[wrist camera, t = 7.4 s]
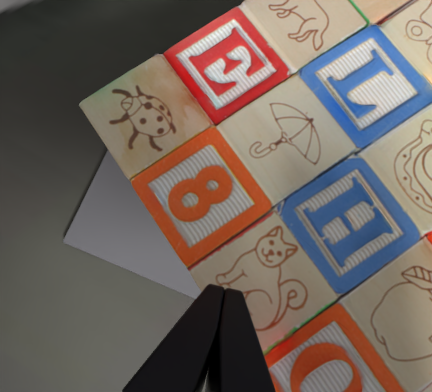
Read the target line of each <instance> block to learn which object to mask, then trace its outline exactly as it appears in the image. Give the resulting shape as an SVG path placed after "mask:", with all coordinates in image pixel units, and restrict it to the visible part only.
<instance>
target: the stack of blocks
mask: <svg viewBox="0 0 432 392" xmlns="http://www.w3.org/2000/svg"><path fill="white" fill-rule="evenodd" d="M79 106H80V107H81V109H82V110H83V112H84V113H85V115H86V116H87V118H88V119H89V121H90V123H91V124H92V126H93V127H94V129H95V130H96V132H97V133H98V135H99V136H100V138H101V139H102V141H103V142H104V144H105V145H106V147H107V148H108V150H109V152H110V153H111V155H112V156H113V158H114V159H115V161H116V162H117V164H118V165H119V167H120V168H121V170H122V172H123V173H124V175H125V176H126V177H127V178H128V180H129V181H130V182H131V184H132V186H133V188H134V190H135V191H136V193H137V195H138V196H139V198H140V199H141V201H142V202H143V204H144V205H145V207H146V208H147V210H148V211H149V213H150V214H151V216H152V217H153V219H154V220H155V222H156V223H157V225H158V227H159V228H160V230H161V231H162V233H163V234H164V236H165V237H166V239H167V240H168V242H169V243H170V245H171V246H172V248H173V249H174V251H175V252H176V254H177V255H178V257H179V258H180V260H181V261H182V262H183V264H184V265H185V266H186V268H187V269H188V271H189V272H190V274H191V276H192V278H193V279H194V281H195V282H196V284H197V286H198V287H199V289H200V290H201V292H202V291H203V290H204V288H205V287H206V286H207V285H208V284H214V285H219V286H223V287H224V289H226V288H232V289H236V290H240V291H242V292H243V294H244V297H245V300H246V303H247V306H248V309H249V312H250V315H251V318H252V321H253V324H254V327H255V330H256V333H257V336H258V339H259V342H260V345H261V348H262V351H263V354H264V357H265V360H266V363H267V366H268V369H269V372H270V375H271V378H272V381H273V384H274V387H275V390H276V392H432V0H244V1H243V2H242V4H241V5H240V6H236V7H234V8H233V9H231V10H229V11H228V12H226V13H225V14H223V15H221V16H220V17H218V18H216V19H215V20H213V21H211V22H210V23H208V24H207V25H205V26H204V27H202V28H200V29H199V30H197V31H196V32H194V33H192V34H191V35H189V36H188V37H186V38H185V39H183V40H181V41H180V42H178V43H177V44H175V45H174V46H172V47H171V48H169V49H168V50H167V51H165V52H164V54H157V55H155V56H154V57H152V58H150V59H148V60H147V61H145V62H143V63H142V64H140V65H139V66H137V67H135V68H134V69H132V70H130V71H128V72H127V73H125V74H124V75H122V76H121V77H119V78H117V79H116V80H114V81H112V82H111V83H109V84H108V85H106V86H105V87H103V88H101V89H100V90H98V91H97V92H95V93H94V94H92V95H90V96H89V97H87V98H86V99H84V100H83V101H81V103H80V104H79Z"/></svg>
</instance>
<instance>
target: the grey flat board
mask: <svg viewBox="0 0 432 392" xmlns="http://www.w3.org/2000/svg"><path fill="white" fill-rule="evenodd" d="M155 55H157V53H155ZM155 55H154V56H155ZM63 242H64V243H66V244H68V245H71V246H73V247H75V248H78V249H80V250H82V251H85V252H87V253H89V254H92V255H94V256H96V257H99V258H101V259H103V260H106V261H108V262H110V263H113V264H115V265H117V266H120V267H122V268H124V269H127V270H129V271H131V272H134V273H136V274H138V275H141V276H143V277H145V278H148V279H150V280H152V281H155V282H157V283H159V284H162V285H164V286H166V287H169V288H171V289H173V290H176V291H178V292H180V293H183V294H185V295H187V296H190V297H192V298H194V299H196V298H197V297H198V296H199V295H200V293H201V290H200V289H199V287H198V286H197V284H196V282H195V281H194V279H193V278H192V276H191V274H190V272H189V271H188V269H187V268H186V266H185V265H184V264H183V262H182V261H181V260H180V258H179V257H178V255H177V254H176V252H175V251H174V249H173V248H172V246H171V245H170V243H169V242H168V240H167V239H166V237H165V236H164V234H163V233H162V231H161V230H160V228H159V227H158V225H157V223H156V222H155V220H154V219H153V217H152V216H151V214H150V213H149V211H148V210H147V208H146V207H145V205H144V204H143V202H142V201H141V199H140V198H139V196H138V195H137V193H136V191H135V190H134V188H133V186H132V184H131V182H130V181H129V180H128V178H127V177H126V176H125V175H124V173H123V172H122V170H121V168H120V167H119V165H118V164H117V162H116V161H115V159H114V158H113V156H112V155H111V153H110V152H109V150H107V152H106V155H105V157H104V159H103V161H102V163H101V165H100V167H99V169H98V171H97V173H96V175H95V177H94V179H93V181H92V183H91V185H90V187H89V189H88V191H87V193H86V195H85V197H84V199H83V201H82V203H81V206H80V208H79V210H78V212H77V214H76V216H75V218H74V220H73V222H72V224H71V226H70V228H69V230H68V232H67V234H66V236H65V238H64V240H63Z"/></svg>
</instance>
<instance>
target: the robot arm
mask: <svg viewBox="0 0 432 392" xmlns="http://www.w3.org/2000/svg"><path fill="white" fill-rule="evenodd" d="M207 371H208V373H207ZM206 375H207V380H206V389H205V392H276V390H275V387H274V384H273V381H272V378H271V375H270V372H269V369H268V366H267V363H266V360H265V357H264V354H263V351H262V348H261V345H260V342H259V339H258V336H257V333H256V330H255V327H254V324H253V321H252V318H251V315H250V312H249V309H248V306H247V303H246V300H245V297H244V294H243V292H242V291H240V290H236V289H232V288H226V289H224V287H223V286H219V285H214V284H208V285H207V286H206V287H205V288H204V290H203V291H202V292H201V293H200V295H199V296H198V297H197V298H196V299H195V301H194V302H193V303H192V304H191V306H190V307H189V308H188V309H187V311H186V312H185V313H184V314H183V316H182V317H181V318H180V319H179V320H178V322H177V323H176V324H175V325H174V327H173V328H172V329H171V330H170V332H169V333H168V334H167V335H166V337H165V338H164V339H163V340H162V341H161V343H160V344H159V345H158V346H157V348H156V349H155V350H154V351H153V353H152V354H151V355H150V356H149V358H148V359H147V360H146V361H145V363H144V364H143V365H142V366H141V367H140V369H139V370H138V371H137V372H136V374H135V375H134V376H133V377H132V379H131V380H130V381H129V382H128V384H127V385H126V386H125V387H124V388H123V390H122V392H202V389H203V386H204V383H205V379H206Z"/></svg>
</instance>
